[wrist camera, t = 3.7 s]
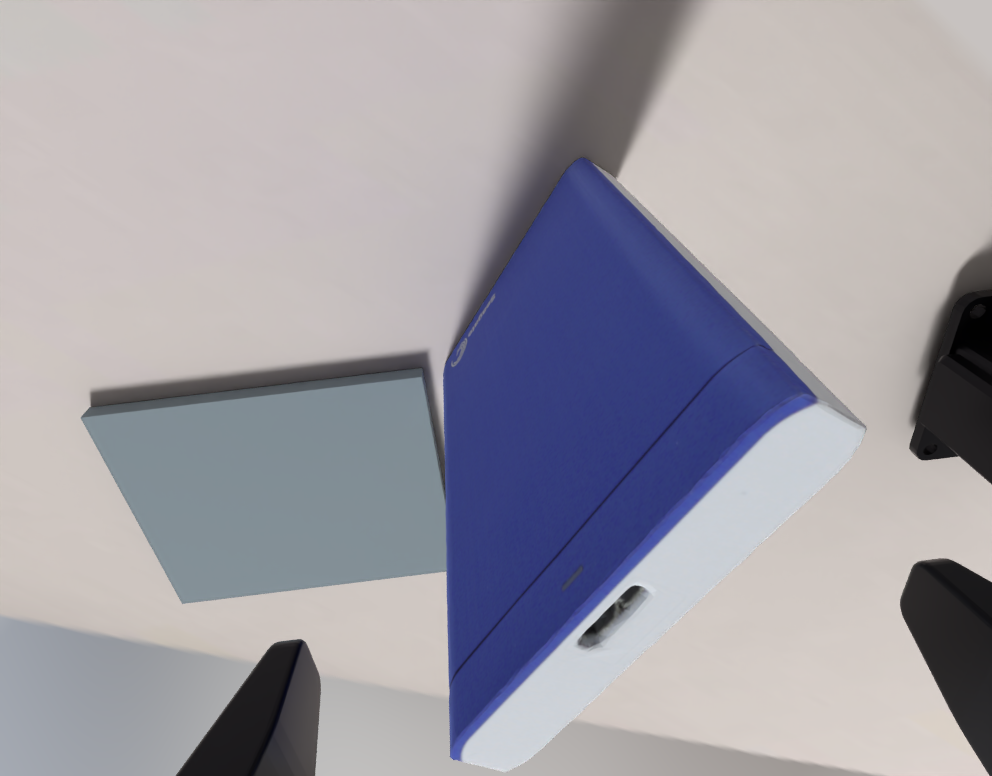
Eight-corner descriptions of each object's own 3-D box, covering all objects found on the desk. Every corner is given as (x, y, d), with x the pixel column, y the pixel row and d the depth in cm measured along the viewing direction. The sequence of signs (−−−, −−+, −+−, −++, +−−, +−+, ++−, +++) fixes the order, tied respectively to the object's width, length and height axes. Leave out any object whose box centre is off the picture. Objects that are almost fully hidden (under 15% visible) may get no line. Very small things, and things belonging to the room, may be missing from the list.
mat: (422, 368, 20) (421, 377, 20) (457, 558, 25) (457, 570, 25) (89, 407, 20) (80, 417, 20) (187, 591, 25) (182, 603, 25)
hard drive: (436, 374, 21) (436, 758, 10) (575, 151, 17) (790, 380, 7) (477, 393, 21) (516, 776, 11) (620, 180, 18) (885, 434, 7)
